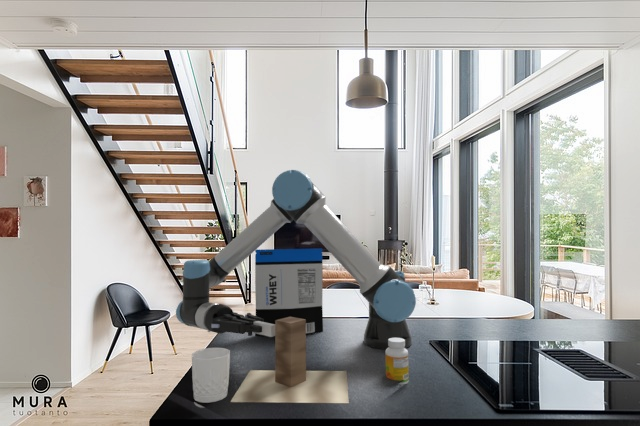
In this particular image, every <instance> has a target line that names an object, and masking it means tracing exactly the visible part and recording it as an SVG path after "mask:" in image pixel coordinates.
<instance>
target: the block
mask: <svg viewBox="0 0 640 426" xmlns="http://www.w3.org/2000/svg"><path fill="white" fill-rule="evenodd" d="M274 340H275V342H274V343H275V345H274V346H275V347H274V349H275V350H274V354H275V357H274V358H275V359H274V360H275V361H274V363H275V364H274V365H275V369H274V370H275V382H276V383H279V384H282V385H285V386H288V387H293V386H296V385H298V384H300V383H302V382H304V381H306V371H307V336H306V319H301V318H295V317H287V318H282V319H278V320H275V338H274Z"/></svg>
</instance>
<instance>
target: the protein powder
mask: <svg viewBox="0 0 640 426" xmlns="http://www.w3.org/2000/svg"><path fill="white" fill-rule="evenodd" d="M254 252H255V255H254V256H255V258H254V259H255V263H254V265H255V266H254V267H255V269H254V271H255V272H254V273H255V274H254V275H255V277H254V279H255V281H254V285H255V287H254V288H255V292H254V293H255V316H257V317H260V318H263V319H264V322H266V323H271V324H275V320H278V319H282V318H287V317H295V318H301V319H306V337H307V336H311V335H316V334H318V332H319V333H323V332H324V320H323V319H324V316H323V288H324V287H323V281H324V280H323V278H324V277H323V273H324V272H323V248H285V249H284V248H283V249H282V248H279V249H278V248H277V249H275V248H274V249H273V248H272V249H256V250H255V251H254ZM315 333H316V334H315ZM254 336H255V337H262V338H274V339H275V336H273V337H269V336H265V335H260V334H256V333H254Z"/></svg>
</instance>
